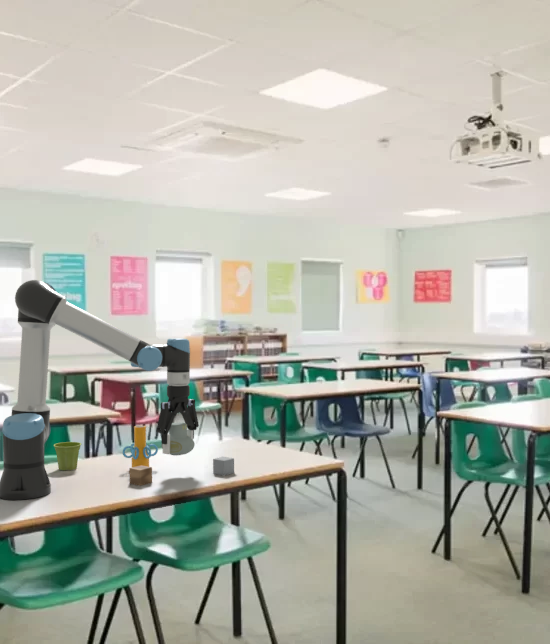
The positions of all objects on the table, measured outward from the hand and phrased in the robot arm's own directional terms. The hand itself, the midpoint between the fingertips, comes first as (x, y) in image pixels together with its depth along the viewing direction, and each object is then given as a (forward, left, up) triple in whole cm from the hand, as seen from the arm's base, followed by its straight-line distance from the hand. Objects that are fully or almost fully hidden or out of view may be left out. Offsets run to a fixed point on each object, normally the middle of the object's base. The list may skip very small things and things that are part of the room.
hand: (177, 451), depth 235 cm
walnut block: (-15, +2, -8) cm, 17 cm away
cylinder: (-2, +17, -8) cm, 19 cm away
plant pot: (-16, +39, -8) cm, 43 cm away
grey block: (+11, -10, -8) cm, 17 cm away
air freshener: (0, 0, -1) cm, 1 cm away
